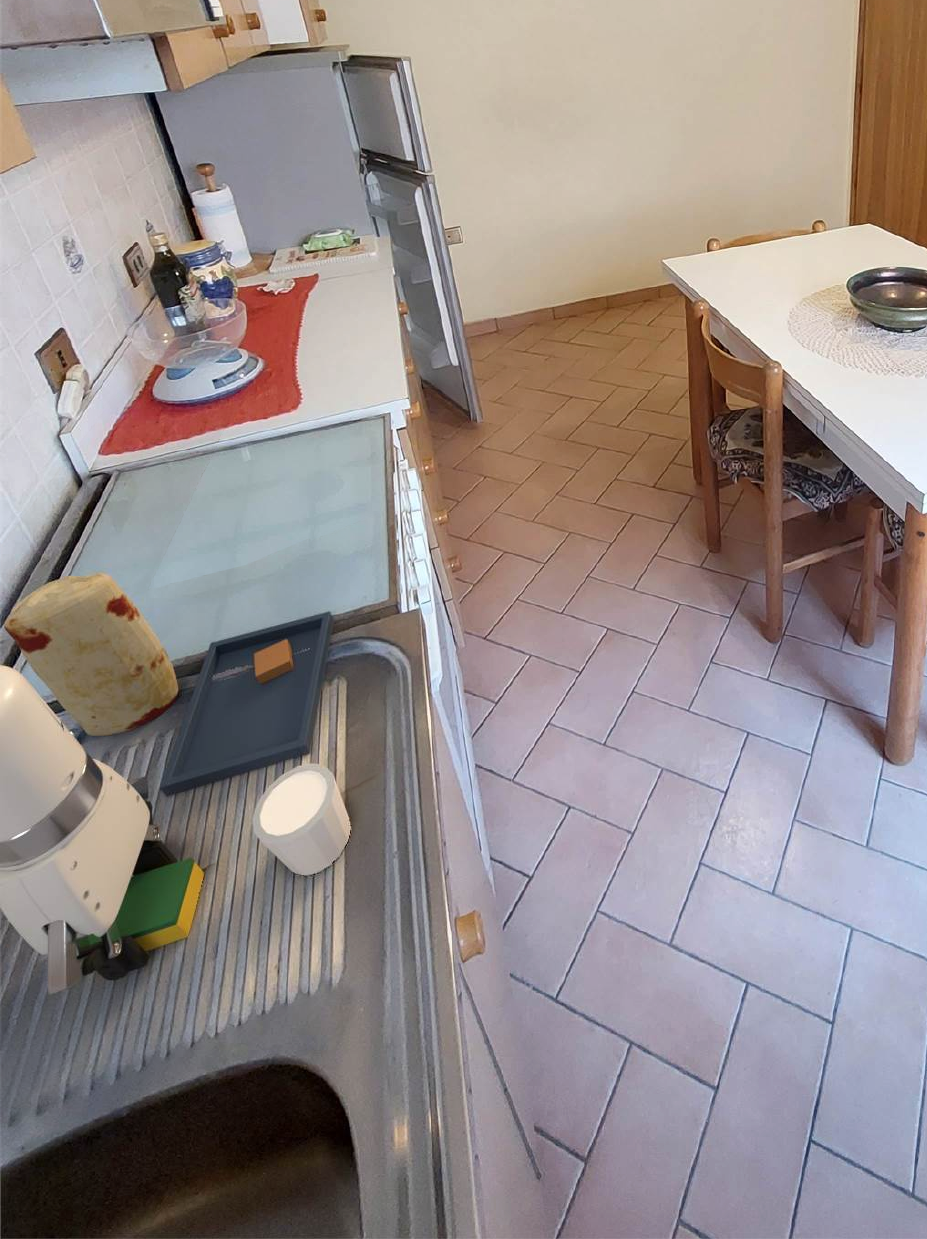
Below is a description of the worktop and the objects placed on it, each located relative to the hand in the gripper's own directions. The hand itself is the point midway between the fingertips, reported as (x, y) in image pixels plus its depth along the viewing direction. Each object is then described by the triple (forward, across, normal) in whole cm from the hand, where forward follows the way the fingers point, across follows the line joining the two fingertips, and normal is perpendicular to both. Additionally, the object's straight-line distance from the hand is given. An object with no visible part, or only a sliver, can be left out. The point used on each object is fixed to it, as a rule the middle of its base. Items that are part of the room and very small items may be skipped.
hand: (144, 916), depth 63 cm
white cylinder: (+1, -2, +14) cm, 14 cm away
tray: (+1, -20, +5) cm, 21 cm away
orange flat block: (0, -24, +6) cm, 25 cm away
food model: (+1, -23, -8) cm, 24 cm away
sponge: (+1, 0, 0) cm, 1 cm away
